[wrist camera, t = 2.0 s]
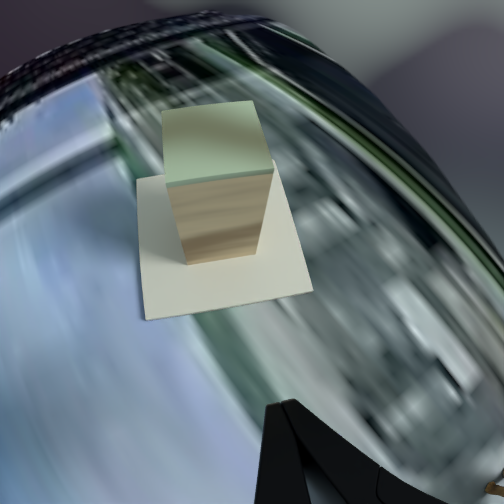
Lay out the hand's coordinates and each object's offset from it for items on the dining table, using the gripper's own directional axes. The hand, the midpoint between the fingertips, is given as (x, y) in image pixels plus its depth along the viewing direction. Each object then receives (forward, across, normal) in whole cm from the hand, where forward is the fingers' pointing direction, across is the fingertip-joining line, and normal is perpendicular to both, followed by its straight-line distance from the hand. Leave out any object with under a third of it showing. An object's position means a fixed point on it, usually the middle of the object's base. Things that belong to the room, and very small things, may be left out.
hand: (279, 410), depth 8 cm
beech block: (+17, 0, 0) cm, 17 cm away
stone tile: (+18, 0, 0) cm, 18 cm away
